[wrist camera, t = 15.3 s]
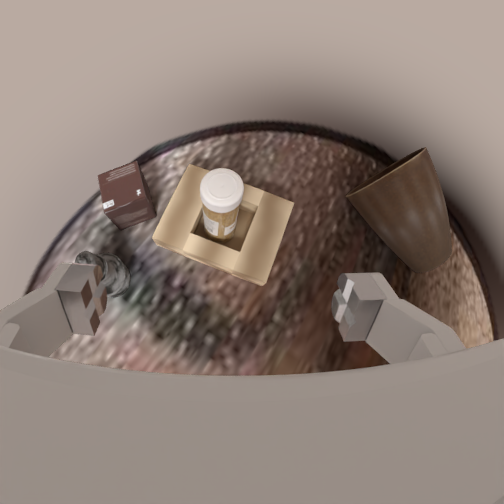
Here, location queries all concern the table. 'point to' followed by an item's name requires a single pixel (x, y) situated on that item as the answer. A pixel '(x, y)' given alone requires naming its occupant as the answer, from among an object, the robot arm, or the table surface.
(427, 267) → the plant pot
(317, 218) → the table surface
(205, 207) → the sprinkles bottle
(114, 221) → the box
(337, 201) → the table surface
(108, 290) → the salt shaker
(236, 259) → the holder
